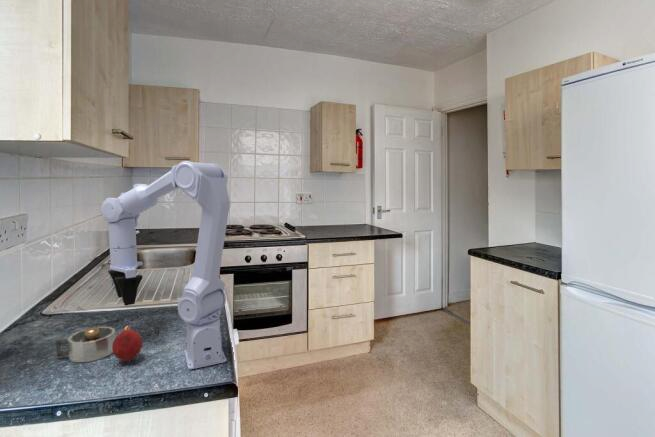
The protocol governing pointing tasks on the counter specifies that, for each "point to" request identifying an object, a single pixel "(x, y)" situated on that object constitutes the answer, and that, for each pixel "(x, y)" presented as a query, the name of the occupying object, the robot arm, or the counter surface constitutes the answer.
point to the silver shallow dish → (87, 346)
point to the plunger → (92, 334)
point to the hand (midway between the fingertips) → (126, 300)
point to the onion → (127, 344)
